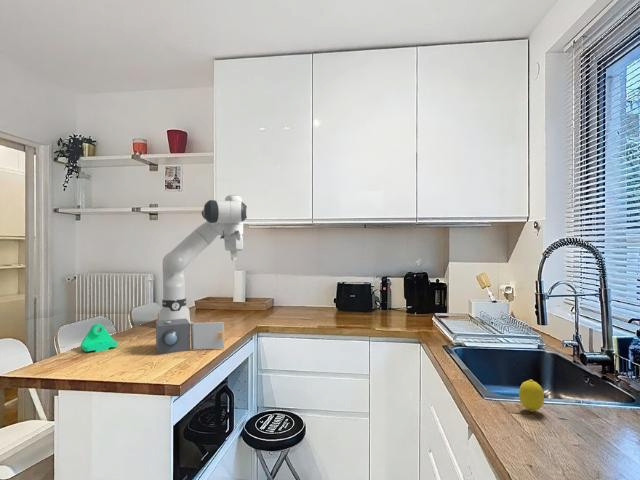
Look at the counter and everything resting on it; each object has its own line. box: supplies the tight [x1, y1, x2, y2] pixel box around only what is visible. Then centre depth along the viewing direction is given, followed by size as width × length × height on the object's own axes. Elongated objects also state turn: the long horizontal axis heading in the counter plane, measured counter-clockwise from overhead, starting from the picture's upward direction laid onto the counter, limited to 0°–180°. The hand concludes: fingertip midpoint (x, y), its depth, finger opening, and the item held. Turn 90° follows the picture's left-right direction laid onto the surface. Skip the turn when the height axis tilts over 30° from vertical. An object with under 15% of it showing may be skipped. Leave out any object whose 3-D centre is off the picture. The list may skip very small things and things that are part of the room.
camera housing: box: [155, 318, 191, 355], centre depth 162 cm, size 14×12×12 cm
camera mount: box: [80, 323, 119, 353], centre depth 164 cm, size 12×8×10 cm, turn 134°
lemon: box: [518, 379, 545, 413], centre depth 99 cm, size 6×6×8 cm
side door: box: [190, 321, 225, 350], centre depth 161 cm, size 13×2×10 cm, turn 95°
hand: (233, 260), depth 184 cm, fingers closed
